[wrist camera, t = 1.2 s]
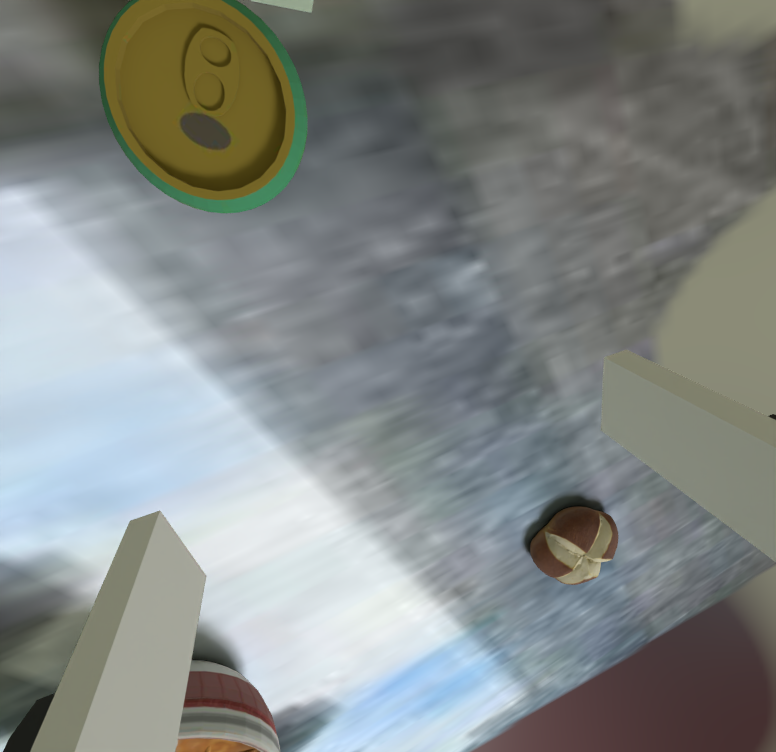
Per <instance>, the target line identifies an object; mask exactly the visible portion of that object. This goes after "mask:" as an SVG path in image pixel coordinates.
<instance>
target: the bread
mask: <svg viewBox="0 0 776 752" xmlns="http://www.w3.org/2000/svg"><path fill="white" fill-rule="evenodd" d="M617 544H618V531H617V527H616V524H615V522H614V520H613V519H612V517H611V516H610V515H608V514H606V513H604V512H601V511H596V510H593V509H591V508H587V507H581V506H579V507H569V508H566V509H563V510H561V511H559V512H558V513H557V514H555V516H554V517H553V518H552V519H551V520H550V522H549V523H548V524H547V525H546V526H545V527H543V528H542V529H541V530H540V531H539V532H538V533H537V535H536V536H535V537H534V538H533V539H532V541H531V546H530V552H531V556H532V559H533V561H534V563H535V564H536V565H537V567H538V568H539V569H540V570H541V571H543V572H544V573H545V574H546V575H548V576H550V577H553V578H556V579H557V580H558V581H560V582H561V583H564V584H571V585H576V584H581V583H584V582H587V581H589V580H592V579H594V578H596V577H597V576H598V574H599V572H600V565H601V562H605V561H609V560H611V559H613V557H614V554H615V551H616V548H617Z"/></svg>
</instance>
